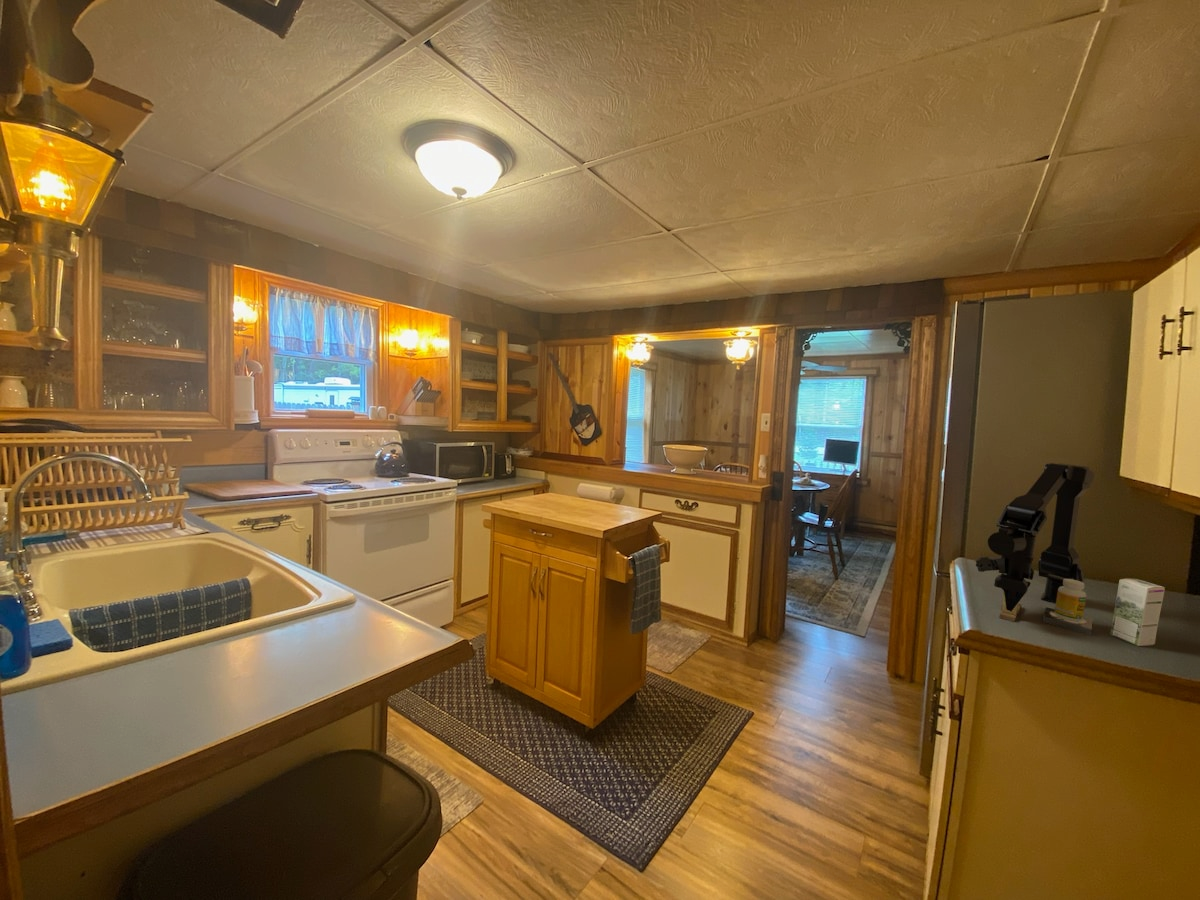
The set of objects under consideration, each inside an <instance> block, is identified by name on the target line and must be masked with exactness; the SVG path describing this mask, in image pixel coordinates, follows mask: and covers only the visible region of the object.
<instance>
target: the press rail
mask: <svg viewBox="0 0 1200 900" xmlns="http://www.w3.org/2000/svg"><path fill="white" fill-rule="evenodd" d="M1021 608H1022V603H1019V606H1018V612H1017V614H1016V615H1014V614H1010V613H1006V612H1003V611H1002V610H1001V612H1000V614H999V619H1002V618H1003V619H1002V620H1006V621H1009V620H1010V621H1009V622H1013V623H1015V621H1016V619H1017V617H1018V615H1019V613H1020V610H1021Z"/></svg>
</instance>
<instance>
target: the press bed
mask: <svg viewBox="0 0 1200 900" xmlns="http://www.w3.org/2000/svg"><path fill="white" fill-rule="evenodd" d="M1054 612H1055V608H1051V607H1048V606H1046V607H1045V609H1044V613H1043V616H1042V623H1045V624H1048V623H1049V624H1050V625H1053V626H1055V627H1058V628H1059V627H1060V628H1063V629H1068V630H1072V631H1075V632H1079V633H1082V634H1085V635H1088V636H1089V635H1090V636H1091V635H1092V628H1093V618H1090V617H1087V616H1083V618H1082V620H1081V621H1071V620H1067V619H1063V618H1061V617H1059V616H1057V615H1056V614H1055V613H1054Z"/></svg>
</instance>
